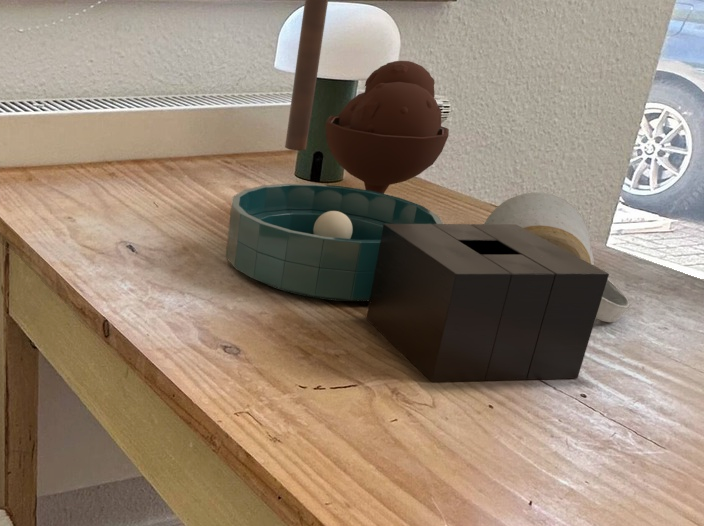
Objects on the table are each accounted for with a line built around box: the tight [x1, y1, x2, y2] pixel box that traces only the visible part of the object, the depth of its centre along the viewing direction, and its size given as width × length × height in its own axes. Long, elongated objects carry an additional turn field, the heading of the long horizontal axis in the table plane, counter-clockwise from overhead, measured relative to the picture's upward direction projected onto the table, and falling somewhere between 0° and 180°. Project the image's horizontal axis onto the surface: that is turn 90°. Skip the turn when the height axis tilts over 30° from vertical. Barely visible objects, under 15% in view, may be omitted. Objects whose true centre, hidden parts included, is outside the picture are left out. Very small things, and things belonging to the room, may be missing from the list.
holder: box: [365, 223, 610, 383], centre depth 57 cm, size 10×10×7 cm
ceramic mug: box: [484, 192, 630, 323], centre depth 65 cm, size 11×8×8 cm
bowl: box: [225, 183, 444, 302], centre depth 70 cm, size 16×16×5 cm
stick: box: [284, 0, 329, 151], centre depth 63 cm, size 2×2×18 cm
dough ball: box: [313, 211, 353, 239], centre depth 74 cm, size 3×3×3 cm
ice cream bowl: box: [325, 60, 450, 194], centre depth 80 cm, size 11×11×15 cm
